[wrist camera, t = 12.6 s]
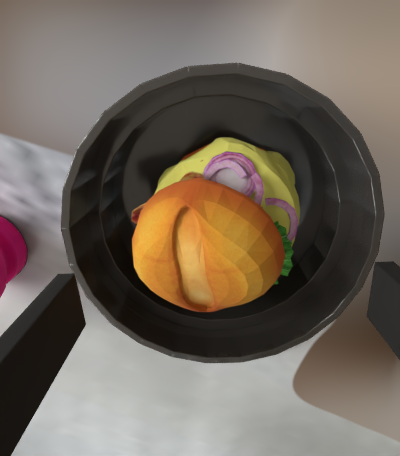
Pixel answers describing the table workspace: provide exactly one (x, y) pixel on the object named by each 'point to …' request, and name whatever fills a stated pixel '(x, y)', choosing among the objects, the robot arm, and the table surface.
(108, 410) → the table surface
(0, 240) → the pepper mill
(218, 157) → the cheeseburger
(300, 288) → the bowl
